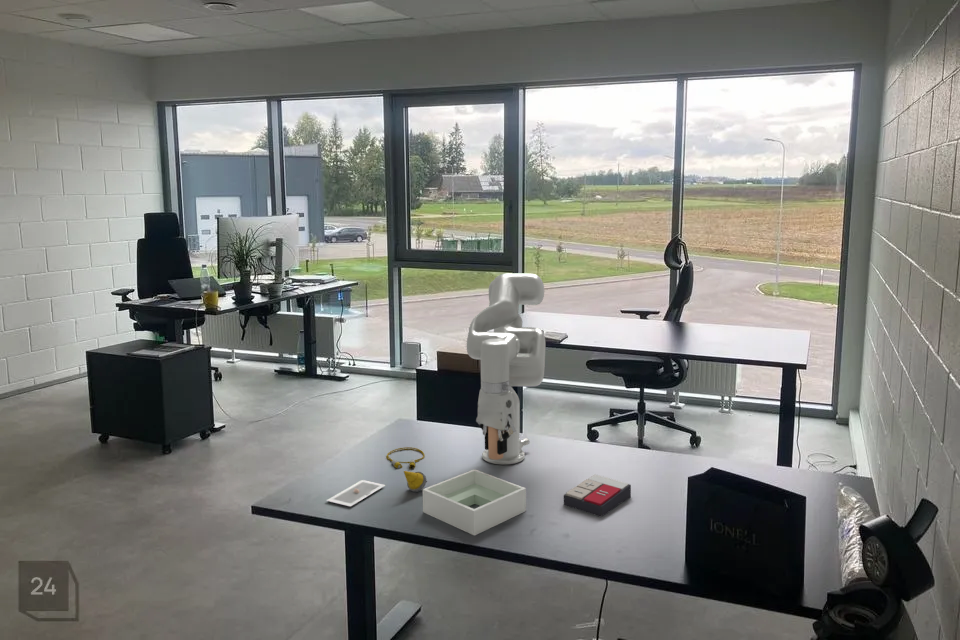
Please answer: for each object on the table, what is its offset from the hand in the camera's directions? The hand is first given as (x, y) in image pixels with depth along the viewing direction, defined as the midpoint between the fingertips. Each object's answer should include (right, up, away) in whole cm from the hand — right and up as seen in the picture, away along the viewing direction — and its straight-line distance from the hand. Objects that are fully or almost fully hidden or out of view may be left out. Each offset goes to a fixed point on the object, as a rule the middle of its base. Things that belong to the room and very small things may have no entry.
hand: (495, 450), depth 198 cm
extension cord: (-27, -7, +20) cm, 34 cm away
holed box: (-6, -12, -16) cm, 21 cm away
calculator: (+26, -12, -10) cm, 30 cm away
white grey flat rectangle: (-37, -11, -5) cm, 39 cm away
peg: (0, -2, 0) cm, 2 cm away
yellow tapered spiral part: (-21, -10, -4) cm, 24 cm away
